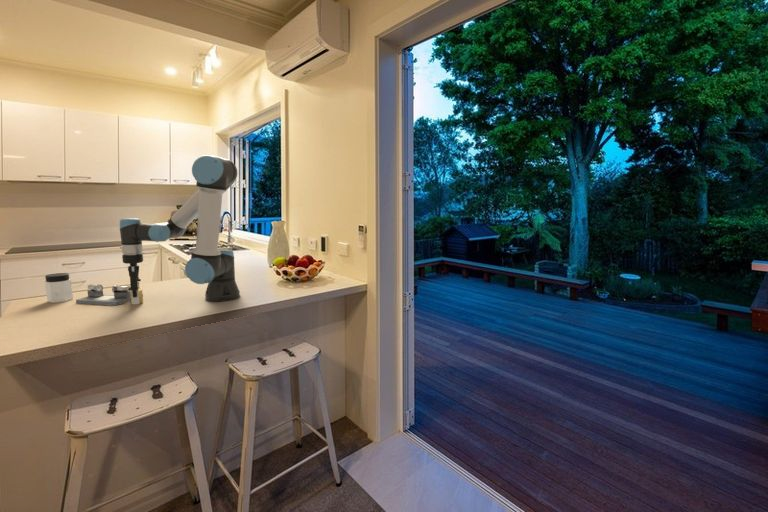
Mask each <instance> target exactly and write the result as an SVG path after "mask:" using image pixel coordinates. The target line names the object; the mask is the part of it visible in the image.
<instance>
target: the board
mask: <svg viewBox="0 0 768 512" xmlns="http://www.w3.org/2000/svg"><path fill="white" fill-rule="evenodd" d="M75 302H76V303H75V304H84V305H85V304H86V305H87V304H88V305H103V306H118V305H121V304H124V303H127V302H131V298H130V297H129V298H126V299H114V294H103V296H100V297H96V298H94V297H88V296H85V297H81V298H78V299H77V298H76V299H75Z"/></svg>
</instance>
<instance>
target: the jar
mask: <svg viewBox="0 0 768 512" xmlns="http://www.w3.org/2000/svg"><path fill="white" fill-rule="evenodd" d="M44 278H45V281H44V285H45V286H44V287H45V293H46V300H47V302H48V303H52V304H55V303H64V302H68V301H71V300H74V296H73V295H74V294H73V288H72V286H73V285H72V280H71V278H70V274H69V273H68V272H59V273H50V274H46V275H45V277H44Z"/></svg>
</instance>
